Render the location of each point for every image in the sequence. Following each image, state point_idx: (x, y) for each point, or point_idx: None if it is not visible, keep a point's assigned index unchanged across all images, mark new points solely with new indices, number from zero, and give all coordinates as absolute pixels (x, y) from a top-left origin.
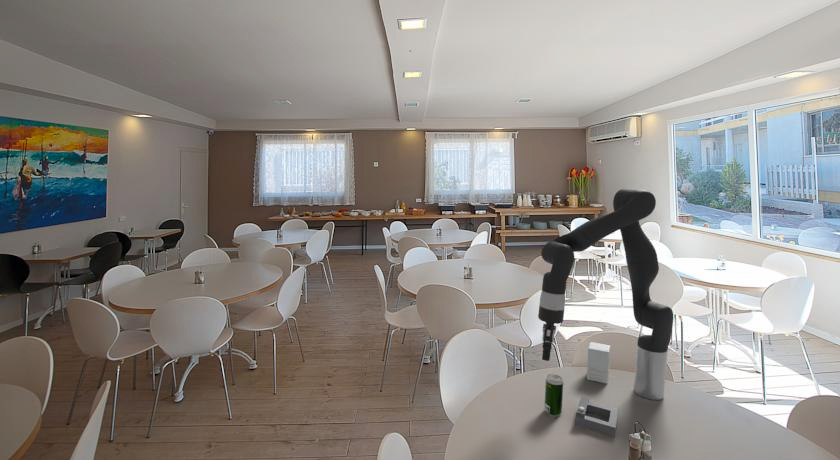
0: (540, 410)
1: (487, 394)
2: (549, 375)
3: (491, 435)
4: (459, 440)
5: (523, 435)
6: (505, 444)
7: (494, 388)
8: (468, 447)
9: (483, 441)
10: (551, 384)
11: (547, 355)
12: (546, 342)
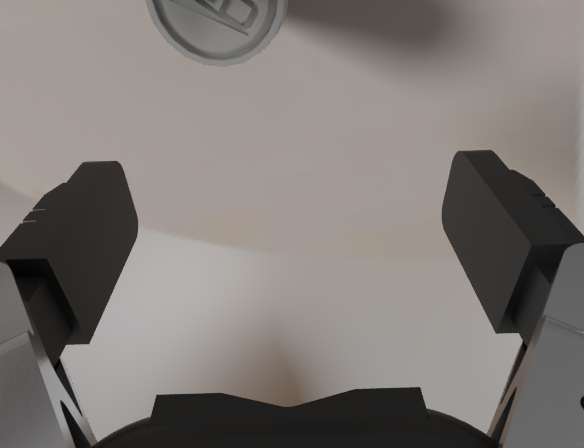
0: None
1: (227, 240)
2: (182, 44)
3: None
4: None
5: (469, 70)
6: (533, 123)
7: (167, 230)
8: None
9: None
10: (285, 9)
11: (551, 217)
12: (95, 285)
